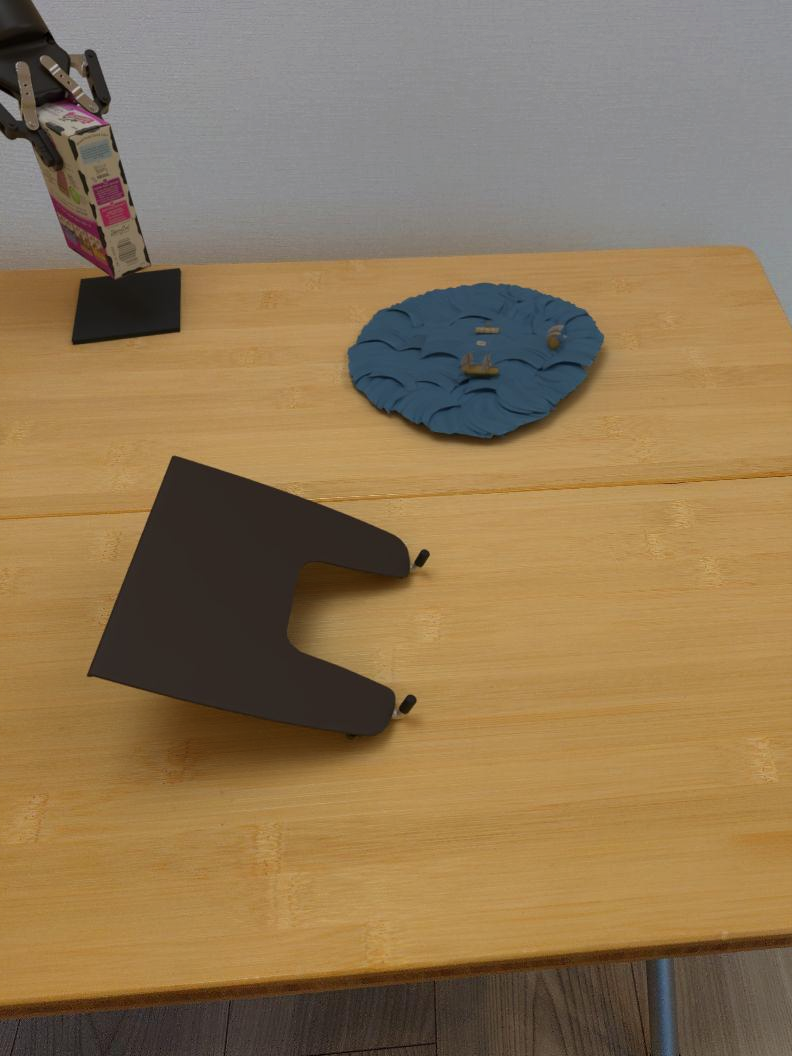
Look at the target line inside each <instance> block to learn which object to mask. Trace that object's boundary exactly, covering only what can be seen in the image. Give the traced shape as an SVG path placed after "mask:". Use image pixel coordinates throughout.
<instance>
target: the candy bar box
mask: <svg viewBox="0 0 792 1056" xmlns="http://www.w3.org/2000/svg"><path fill="white" fill-rule="evenodd" d="M17 109H18V111H19V112H20V110H19V106H18V107H17ZM36 112H37V117H38V123H39V128H40V129H41V130H42V129H44V130H45V132H46V134H47V135H48V137H49V139H50V140H51V142H52V144H53V145H54V147H55V149H56V150H57V152H58V154H59V155H60V157H61V159H62V161H63V168H62V170H60V171H56V172H55V171H54V170H53V168H52V167H49V168H48V167H47V166H46V165H44V164H43V162H42V160H41V158H40V157H39V155H38V154H37V152H36V150H35V149H34V147H33V146H32V145H31V147H32V150H33V153H34V155H35V158H36V161H37V163H38V167H39V169H40V172H41V175H42V178H43V180H44V184H45V186H46V188H47V192H48V194H49V197H50V200H51V203H52V206H53V209H54V212H55V214H56V217H57V221H58V223H59V225H60V228H61V231H62V234H63V237H64V239H65V242H66V245H67V247H68V248H69V249H70V250H72V251H73V252H75V253H76V254H78V255H79V256H81V257H82V258H83V259H85V260H86V261H88V262H89V263H91V264H92V265H94V266H95V267H96V268H98V269H100V270H101V271H102V272H104V273H105V274H106V275H107V276H111V277H112V278H114V279H119V278H122V277H125V276H127V275H130V274H132V273H138V272H141V271H144V270H146V269H147V268H150V267H151V266H152V262H151V259H150V256H149V252H148V249H147V245H146V242H145V239H144V235H143V232H142V228H141V226H140V222H139V218H138V215H137V212H136V211H137V210H136V208H135V205H134V201H133V197H132V195H131V190H130V187H129V183H128V180H127V177H126V173H125V170H124V167H123V163H122V160H121V156H120V153H119V149H118V145H117V142H116V140H115V136H114V132H113V129H112V125H111V123H110V122H108V121H106V120H105V119H104V120H102V119H100V118H98V117H96V116H95V115H93V114H91V113H89V112H87V111H85V110H84V109H82V108H80V107H78V106H76V105H75V104H72V103H70V102H67V100H62V101H58V102H47V103H45V104H44V105H42V106H39V107H36Z"/></svg>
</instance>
